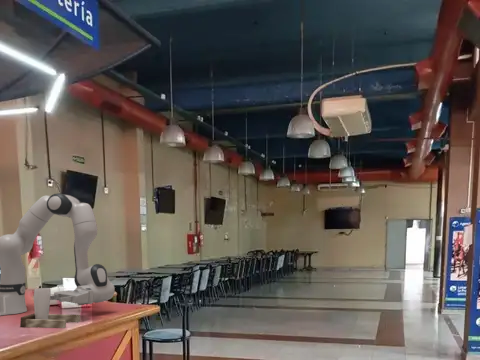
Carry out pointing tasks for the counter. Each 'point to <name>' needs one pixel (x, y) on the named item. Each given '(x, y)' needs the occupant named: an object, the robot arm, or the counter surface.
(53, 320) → the brown compartment tray
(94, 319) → the counter surface
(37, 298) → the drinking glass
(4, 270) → the robot arm
